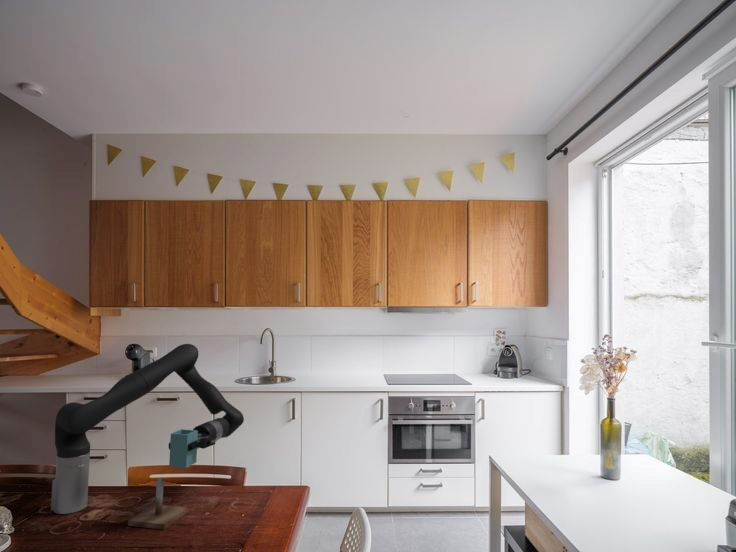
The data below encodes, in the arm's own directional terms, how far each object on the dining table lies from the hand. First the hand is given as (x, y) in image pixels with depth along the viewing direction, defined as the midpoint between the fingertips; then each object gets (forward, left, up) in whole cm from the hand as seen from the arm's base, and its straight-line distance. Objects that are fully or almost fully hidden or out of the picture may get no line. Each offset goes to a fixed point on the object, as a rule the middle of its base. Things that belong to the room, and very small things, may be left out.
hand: (179, 447), depth 148 cm
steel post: (-6, -1, -20) cm, 21 cm away
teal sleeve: (0, +2, -6) cm, 6 cm away
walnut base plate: (-6, -1, -22) cm, 22 cm away
